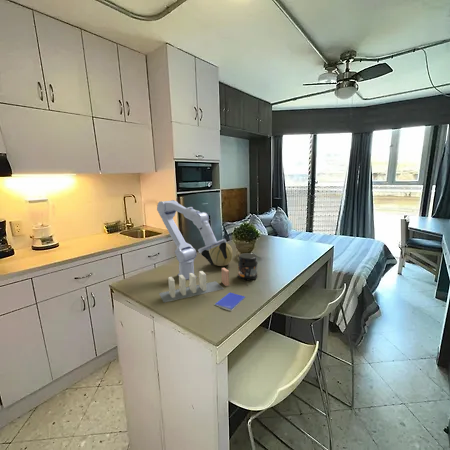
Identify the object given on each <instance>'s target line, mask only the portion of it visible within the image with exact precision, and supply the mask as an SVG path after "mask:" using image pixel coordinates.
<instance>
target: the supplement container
mask: <svg viewBox="0 0 450 450" xmlns="http://www.w3.org/2000/svg"><path fill="white" fill-rule="evenodd" d="M237 268H238V269H237V276H238V278H239V279H241V280H243V281H253V280H255V279H257V278H258V255H256V254H255V253H250V252H246V253H245V252H244V253H240V254H239V255H238V261H237Z"/></svg>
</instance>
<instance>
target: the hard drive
mask: <svg viewBox="0 0 450 450" xmlns="http://www.w3.org/2000/svg"><path fill="white" fill-rule="evenodd" d="M245 298H246V296H244V295H240V294H236V293H234V292H228V293H227V294H226V295H225V296H223V297H222V298H221V299H219V300H218V301H217V302H215V303H214V306H217V307H219V308H220V309H223V310H226V311H229V312H232V311H234V309H235V308H237V307H238V306H239V305H240V304H241V303H242V301H243V300H244V299H245Z"/></svg>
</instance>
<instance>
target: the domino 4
mask: <svg viewBox="0 0 450 450" xmlns="http://www.w3.org/2000/svg"><path fill="white" fill-rule="evenodd" d="M198 281H199V284H198V285H200V288H201V289H202V290H203V291H206V283H207V274H206V273H205V272H204V271H203V270H199V271H198Z"/></svg>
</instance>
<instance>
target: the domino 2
mask: <svg viewBox="0 0 450 450" xmlns="http://www.w3.org/2000/svg"><path fill="white" fill-rule="evenodd" d="M186 281H187V280H186V279H185V277H184V276H183V275H179V276H178V282H179V283H178V284H179V285H178V286H179V289H180V292H181V294H182V295H186V287H187V283H186Z"/></svg>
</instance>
